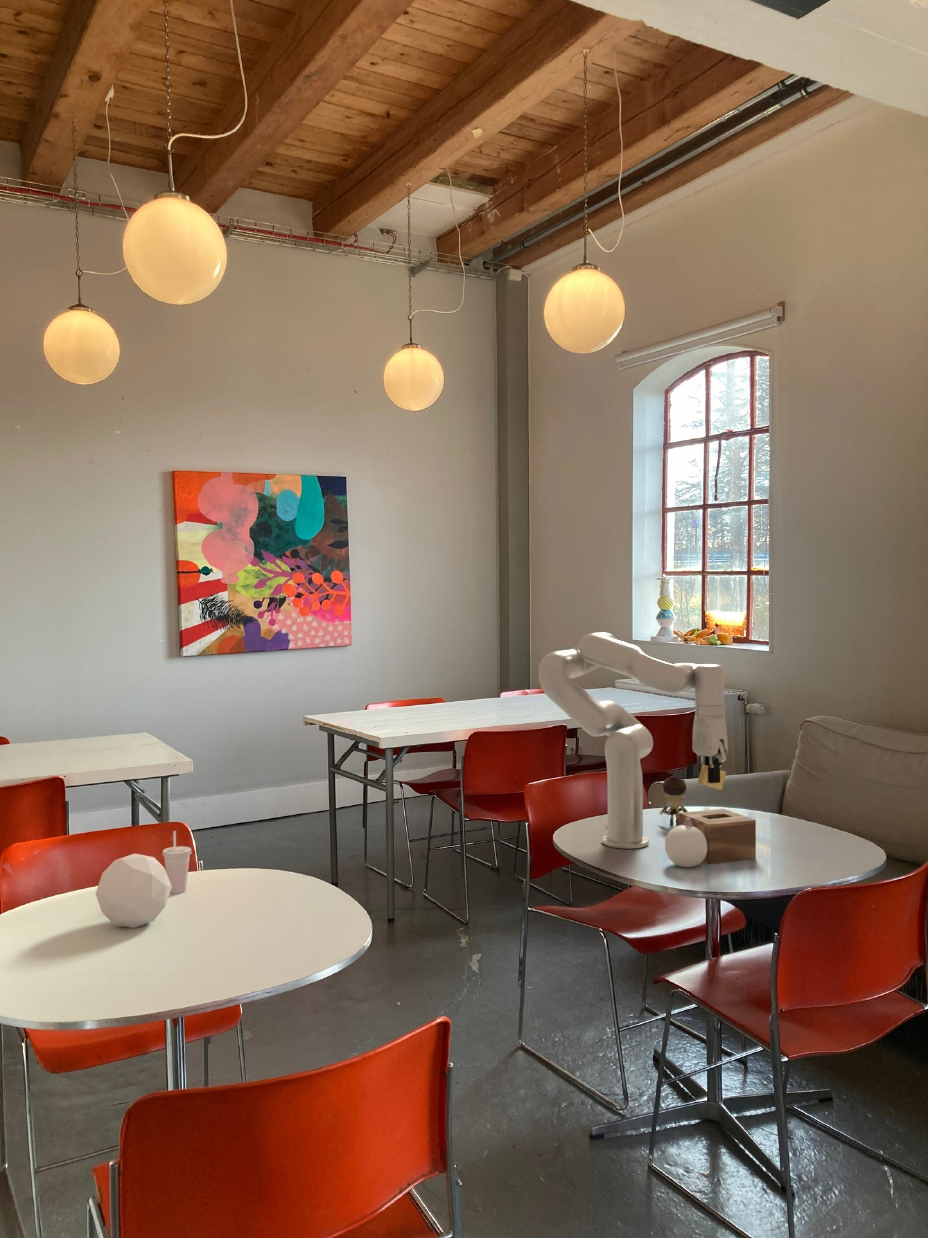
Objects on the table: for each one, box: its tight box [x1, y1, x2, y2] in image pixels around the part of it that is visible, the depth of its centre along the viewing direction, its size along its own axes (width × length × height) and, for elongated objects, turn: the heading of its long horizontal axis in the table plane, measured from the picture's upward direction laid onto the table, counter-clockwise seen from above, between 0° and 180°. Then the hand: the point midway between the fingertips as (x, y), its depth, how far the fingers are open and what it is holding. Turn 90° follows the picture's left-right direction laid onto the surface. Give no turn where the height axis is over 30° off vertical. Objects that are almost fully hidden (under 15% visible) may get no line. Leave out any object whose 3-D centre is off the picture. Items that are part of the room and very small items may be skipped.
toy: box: [659, 775, 689, 827], centre depth 271 cm, size 9×7×15 cm
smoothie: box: [162, 830, 192, 895], centre depth 211 cm, size 6×6×14 cm
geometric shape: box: [95, 853, 172, 929], centre depth 190 cm, size 14×15×15 cm
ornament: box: [664, 818, 707, 868], centre depth 229 cm, size 10×10×12 cm
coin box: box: [678, 808, 757, 865], centre depth 240 cm, size 14×14×10 cm
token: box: [697, 765, 727, 791], centre depth 239 cm, size 2×5×6 cm
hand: (711, 781), depth 239 cm, fingers closed on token, 2 cm apart
